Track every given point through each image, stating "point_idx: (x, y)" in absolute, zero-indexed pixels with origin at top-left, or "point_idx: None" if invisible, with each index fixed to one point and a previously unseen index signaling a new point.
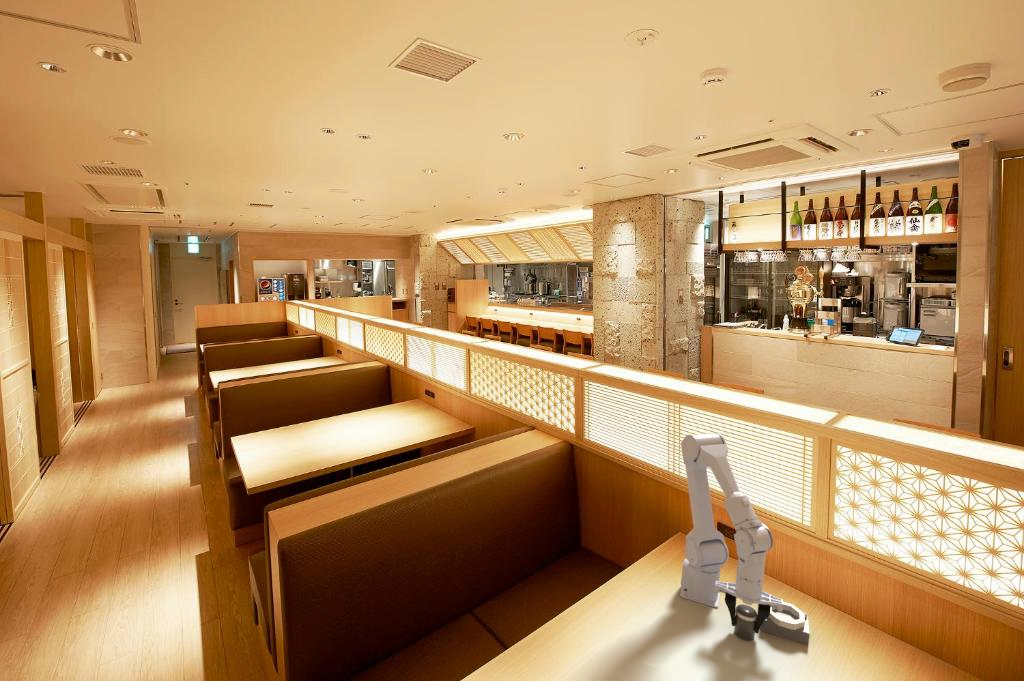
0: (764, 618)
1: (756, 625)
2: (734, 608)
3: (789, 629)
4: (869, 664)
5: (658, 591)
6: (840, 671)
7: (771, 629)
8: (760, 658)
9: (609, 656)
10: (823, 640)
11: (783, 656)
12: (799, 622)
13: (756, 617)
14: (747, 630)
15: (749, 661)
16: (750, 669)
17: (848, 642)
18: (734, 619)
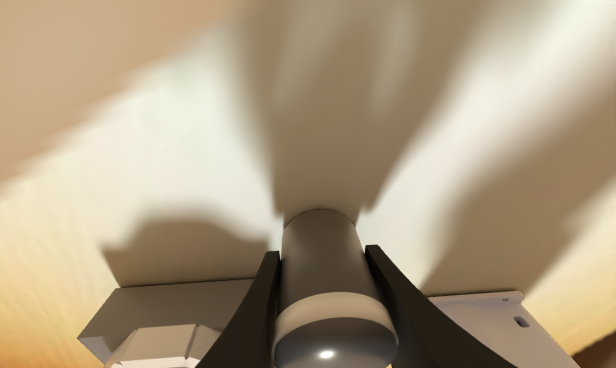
0: (206, 364)
1: (270, 286)
2: (441, 357)
3: (157, 323)
4: None
5: (586, 281)
6: None
7: (230, 295)
8: (240, 138)
9: None
10: None
11: (164, 200)
12: None
13: (273, 336)
14: (311, 243)
15: (283, 85)
16: (270, 14)
17: (42, 342)
18: (384, 273)
